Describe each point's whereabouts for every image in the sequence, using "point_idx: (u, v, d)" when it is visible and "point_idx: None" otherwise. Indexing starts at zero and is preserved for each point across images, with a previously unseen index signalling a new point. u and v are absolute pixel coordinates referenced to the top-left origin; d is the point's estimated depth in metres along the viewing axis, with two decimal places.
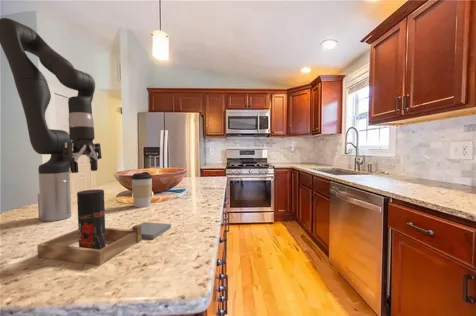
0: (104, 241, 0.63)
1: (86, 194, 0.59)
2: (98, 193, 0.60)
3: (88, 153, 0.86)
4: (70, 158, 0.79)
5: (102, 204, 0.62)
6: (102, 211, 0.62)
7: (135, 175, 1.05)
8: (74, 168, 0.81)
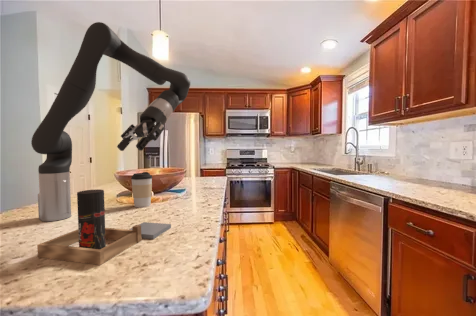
0: (104, 241, 0.63)
1: (86, 194, 0.59)
2: (98, 193, 0.60)
3: None
4: (155, 139, 0.72)
5: (102, 204, 0.62)
6: (102, 211, 0.62)
7: (135, 175, 1.05)
8: None
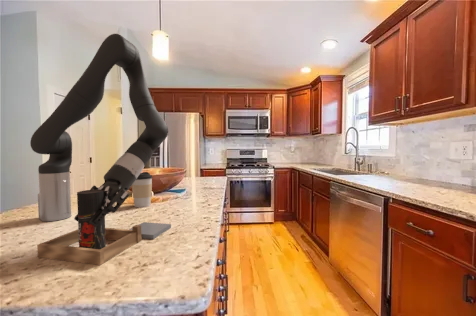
0: (104, 241, 0.63)
1: (86, 194, 0.59)
2: (98, 193, 0.60)
3: None
4: None
5: None
6: None
7: None
8: None
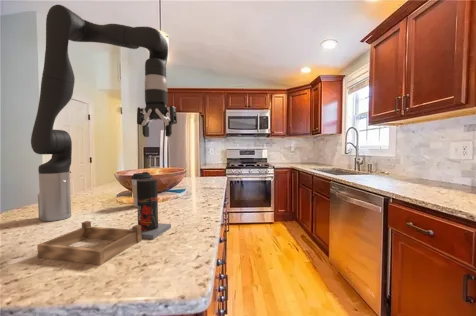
0: (157, 222, 0.75)
1: (145, 182, 0.71)
2: (154, 181, 0.73)
3: None
4: None
5: (156, 190, 0.74)
6: (156, 196, 0.74)
7: (135, 175, 1.05)
8: None
